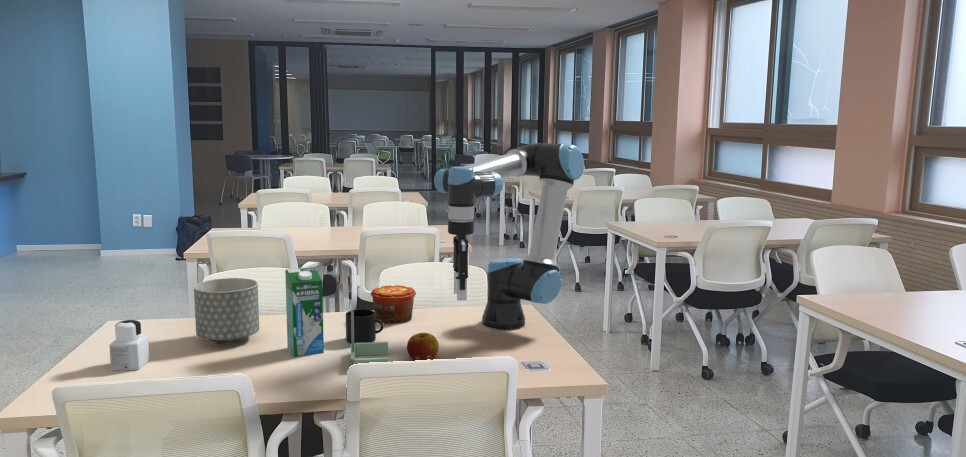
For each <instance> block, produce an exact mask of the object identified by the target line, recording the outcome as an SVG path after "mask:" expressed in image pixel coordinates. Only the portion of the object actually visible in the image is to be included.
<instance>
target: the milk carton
mask: <svg viewBox="0 0 966 457" xmlns="http://www.w3.org/2000/svg"><path fill="white" fill-rule="evenodd" d="M284 271H285V299H286V300H285V302H286V303H285V304H286V305H285V306H286V309H285V310H286V335H287V336H286V338H287V339H286V340H287V342H286V343H287V349H288V350H289V352H290V354H292V356H293V357H301V356H309V355H315V354H322V353H324V352H325V351H324V349H325V348H324V346H325V344H324V342H325V341H324V303H323V302H324V300H323V298H324V296H323V295H324V294H323V293H324V292H323V279H322V277H321V276H320V274H319V272H318V270H317V269H316V267H314V266H313V267H302V268H301V267H300V268H290V269H289V268H288V269H285V270H284Z"/></svg>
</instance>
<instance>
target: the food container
mask: <svg viewBox="0 0 966 457" xmlns="http://www.w3.org/2000/svg"><path fill="white" fill-rule="evenodd" d="M416 295H417V292H416V290H415V289H414V288H413V287H411V286H409V287H407V286H406V285H399V284H397V285H396V284H395V285H390V284H389V285H383V286H380V287H375V288H373V289H372V291H371V292H370V296H371V297H372V304H373V311H374V312H375V314H376V319H378V320H380V321H382V323H383V324H386V325H387V324H388V325H398V324H404V323H408V322H409V321H411V320H412V318H413V311H414V301H415V297H416Z"/></svg>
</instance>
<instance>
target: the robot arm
mask: <svg viewBox="0 0 966 457" xmlns="http://www.w3.org/2000/svg"><path fill="white" fill-rule="evenodd" d="M584 170H585V161H584V156H583V154H582V151H581V150H580V148H579V147H577V146H576V145H574V144H569V143H568V144H567V143H549V142H548V143H547V142H544V143H543V142H536V143H530V144H526V145H523V146H520V147H516V148H512V149H510V150H508V151H507V152H506V153H505V154H503V155H499V156H495V157H492V158H489V159H485V160H480V161H478V162H474V163H470V164H467V165H465V166H452V167H450V168H441V169H439V170H438V171H436V172H435V174H434V178H433V184H434V187H435V189H436V190H437V191H438V192H440V193H444V194H446V195H447V194H448V196H447V198H448V199H447V200H448V203H447V204H448V208H446V209H445V212H446V213H447V217H448V219H449V220H448V221H447V232H448V234H450V235H453V240H452V244H453V260H452V261H453V263H452V264H453V265H452V268H453V271H454V272H453V295H456V301H459V302H460V301H461V302H462V301H467V300H468V299H467V298H468V293H467V292H468V290H467V289H468V284H467V283H468V279H469V254H468V253H469V240H468V239H467V236H469V235H472V234H474V232H475V231H474V230H475V229H474V228H475V223H474V221H473V220H475V199H481V198H482V199H483V198H492V197H496V196H499V195H500V194H501V192H502V191H503V189H504V180H503V179H506V178H509V177H515V178H519V177H522V176H526V177H527V176H528V177H529V176H530V177H539V179H538V181H539V183H541V184H540V185H542V186H541V187H542V188H541V190H540V191H541V193H540V198H539V203H538V208H537V213H536V217H535V222H534V227H533V232H532V233H533V234H532V238H531V239H532V240H531V243H530V249H529V254H528V256H526V257H524V258H523V261H522V259H521V258H518V257H508V258H505V257H504V258H498V259H492V260H491V261H490V262H489V263H488V266H487V273H486V274H487V299H486V300H487V303H486V305H485V308H484V311H483V313H482V317H481V325H482V326H484V327H487V328H488V329H492V330H500V331H501V330H504V331H505V330H517V329H521V328H523V327H524V326H525V325H526V315H525V313H524V310H523V307H522V302H521V300H522V301H527V302H531V303H535V304H541V305H545V304H546V305H547V304H550V303H552V302H553V301H554V300H555V299H556V298H557V296H558V294H559V293H560V291H561V289H562V288H561V287H562V284H563V281H562V280H563V279H562V275H561V273H560V272H559V271H558V263H557V262H556V261H555V258H556V251H557V247H558V242H559V237H560V231H561V227H562V221H563V216H564V211H565V206H566V202H567V201H566V200H567V195H568V191H569V190H570V189H571V188H573V187H574V184H575V181H577V180H579V179H580V178H581V176H582V175H583V174H584Z"/></svg>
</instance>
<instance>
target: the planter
mask: <svg viewBox="0 0 966 457" xmlns="http://www.w3.org/2000/svg"><path fill="white" fill-rule="evenodd" d="M258 286H259V283H258V282H257V281H256V280H255V279H252V278H251V279H250V278H245V277H244V278H243V277H227V278H226V277H225V278H217V279H216V278H214V279H210V280H204V281H201V282H199V283H196V284H195V285H194V286H193V297H194V298H193V299H194V316H195V318H194V320H195V335H196V336H197V338H200V339H202V340H207V341H209V342H212V343H215V344H221V345H229V344H235V343H239V342H241V341H243V340H245V339H247V338H249V337H250V336H253V335H255V334H256V333H258V332H259V331H260V310H259V309H260V308H259V307H260V305H259V287H258Z"/></svg>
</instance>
